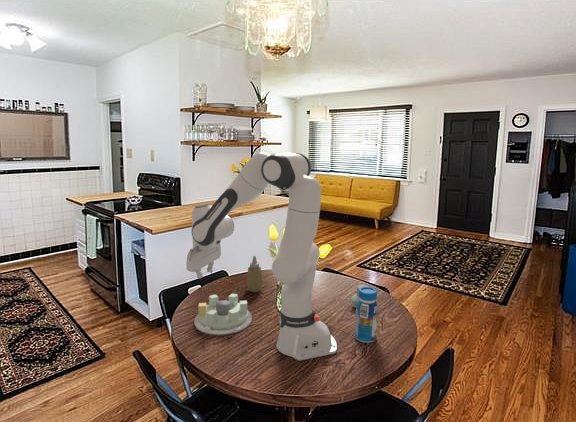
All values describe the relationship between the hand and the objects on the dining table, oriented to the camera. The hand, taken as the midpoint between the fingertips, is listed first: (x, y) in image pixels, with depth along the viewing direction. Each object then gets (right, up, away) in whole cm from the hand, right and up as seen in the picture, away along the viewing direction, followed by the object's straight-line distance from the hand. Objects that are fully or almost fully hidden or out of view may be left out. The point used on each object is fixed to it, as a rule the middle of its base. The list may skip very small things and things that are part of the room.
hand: (204, 274), depth 155 cm
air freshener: (+69, -18, +14) cm, 73 cm away
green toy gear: (+8, -18, +1) cm, 20 cm away
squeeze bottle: (+18, -13, +31) cm, 39 cm away
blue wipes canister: (+65, -23, -11) cm, 70 cm away
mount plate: (+8, -19, +1) cm, 21 cm away
